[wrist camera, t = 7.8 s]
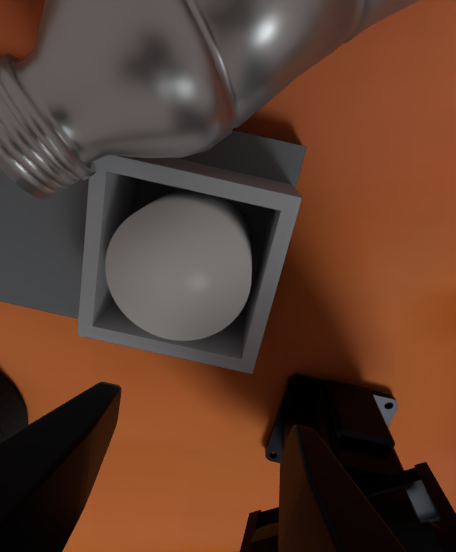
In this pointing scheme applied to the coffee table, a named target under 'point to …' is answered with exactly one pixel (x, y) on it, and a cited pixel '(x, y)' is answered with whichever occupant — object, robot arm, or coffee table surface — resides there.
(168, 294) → the grey button
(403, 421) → the coffee table surface
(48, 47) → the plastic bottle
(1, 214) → the twin socket base plate
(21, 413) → the pen holder
